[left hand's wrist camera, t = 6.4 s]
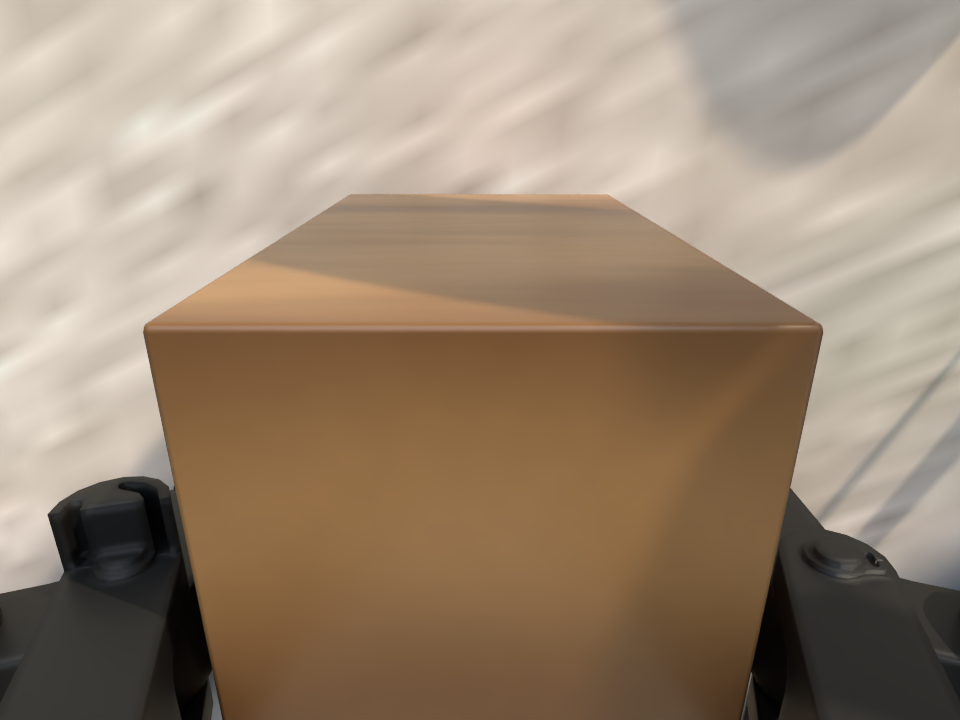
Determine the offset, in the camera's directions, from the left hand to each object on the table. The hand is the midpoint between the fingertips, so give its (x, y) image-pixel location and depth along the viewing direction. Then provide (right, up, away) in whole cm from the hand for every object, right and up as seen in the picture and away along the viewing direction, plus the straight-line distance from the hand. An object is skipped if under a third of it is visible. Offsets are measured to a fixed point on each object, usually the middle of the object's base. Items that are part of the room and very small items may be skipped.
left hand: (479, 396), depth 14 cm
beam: (0, -33, +14) cm, 36 cm away
